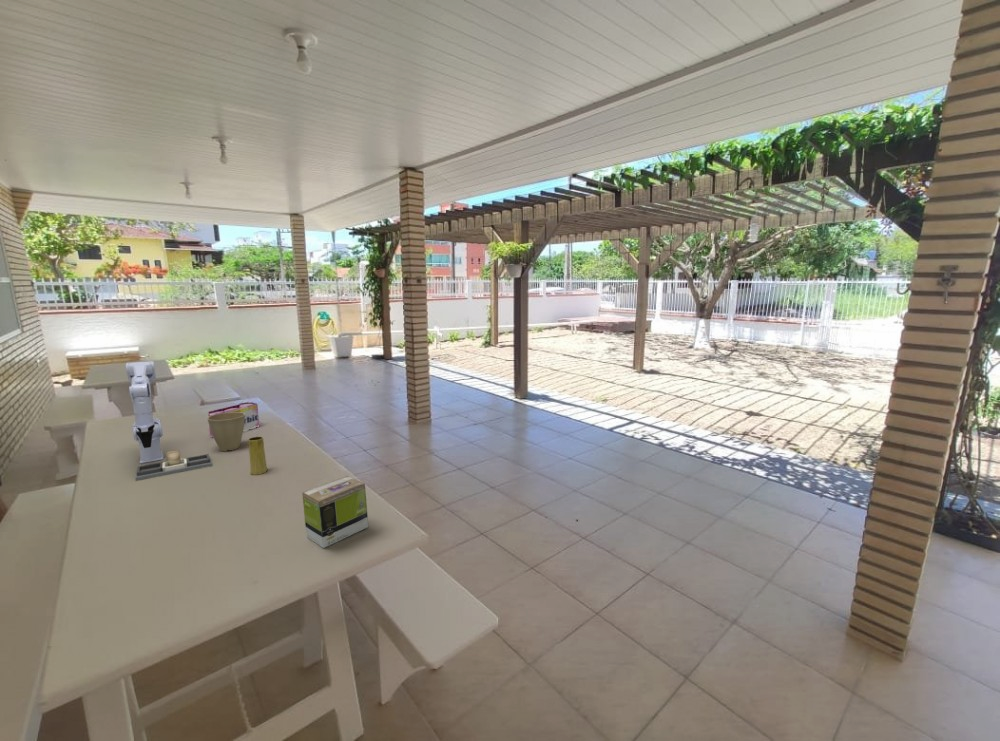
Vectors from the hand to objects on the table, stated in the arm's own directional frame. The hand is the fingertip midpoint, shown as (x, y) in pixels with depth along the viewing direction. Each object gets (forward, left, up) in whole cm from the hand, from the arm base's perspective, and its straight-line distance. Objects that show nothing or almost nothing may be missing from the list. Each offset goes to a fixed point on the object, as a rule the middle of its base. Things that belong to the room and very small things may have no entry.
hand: (147, 445), depth 178 cm
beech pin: (+5, +8, -9) cm, 13 cm away
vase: (+30, +35, -11) cm, 48 cm away
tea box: (+97, +46, -11) cm, 108 cm away
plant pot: (-10, +29, -11) cm, 32 cm away
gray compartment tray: (+5, +8, -10) cm, 14 cm away
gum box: (-38, +35, -11) cm, 52 cm away
